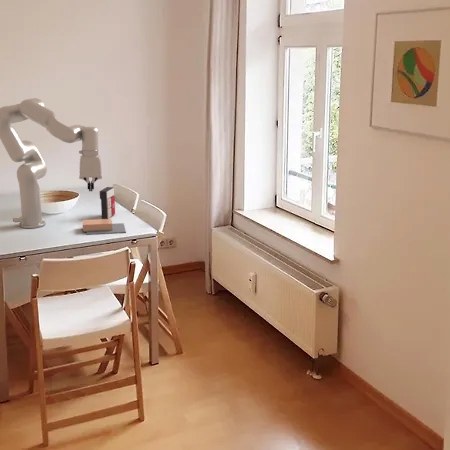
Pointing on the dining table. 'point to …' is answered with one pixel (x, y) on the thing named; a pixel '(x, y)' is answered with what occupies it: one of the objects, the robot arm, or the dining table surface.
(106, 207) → the grey red upright box
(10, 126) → the robot arm
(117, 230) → the mat
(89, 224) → the sponge
